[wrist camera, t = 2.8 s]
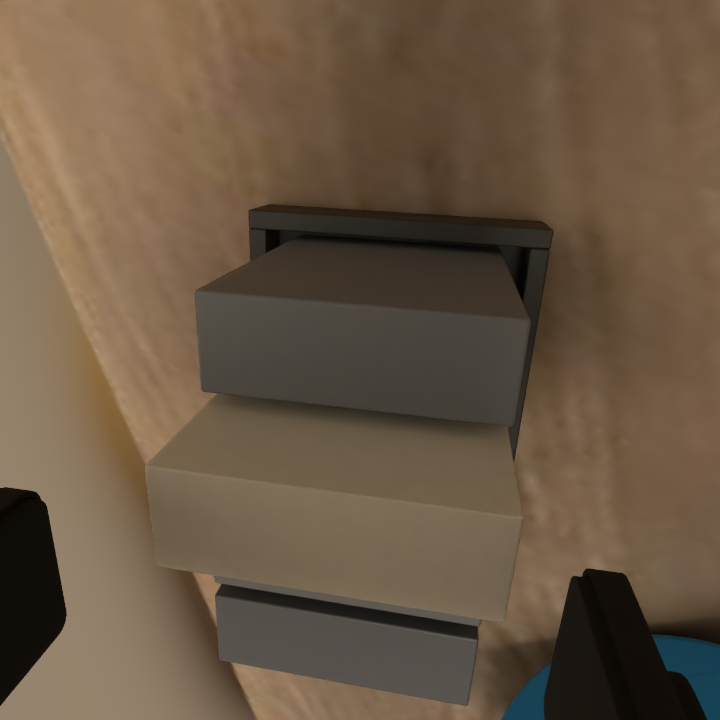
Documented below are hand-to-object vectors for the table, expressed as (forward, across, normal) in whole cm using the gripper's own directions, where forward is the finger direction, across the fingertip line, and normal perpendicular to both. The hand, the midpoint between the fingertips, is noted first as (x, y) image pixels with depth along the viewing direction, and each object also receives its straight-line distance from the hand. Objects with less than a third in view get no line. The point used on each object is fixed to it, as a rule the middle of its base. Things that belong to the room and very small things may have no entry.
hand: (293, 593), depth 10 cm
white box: (+12, 0, 0) cm, 12 cm away
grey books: (+12, 0, +1) cm, 12 cm away
